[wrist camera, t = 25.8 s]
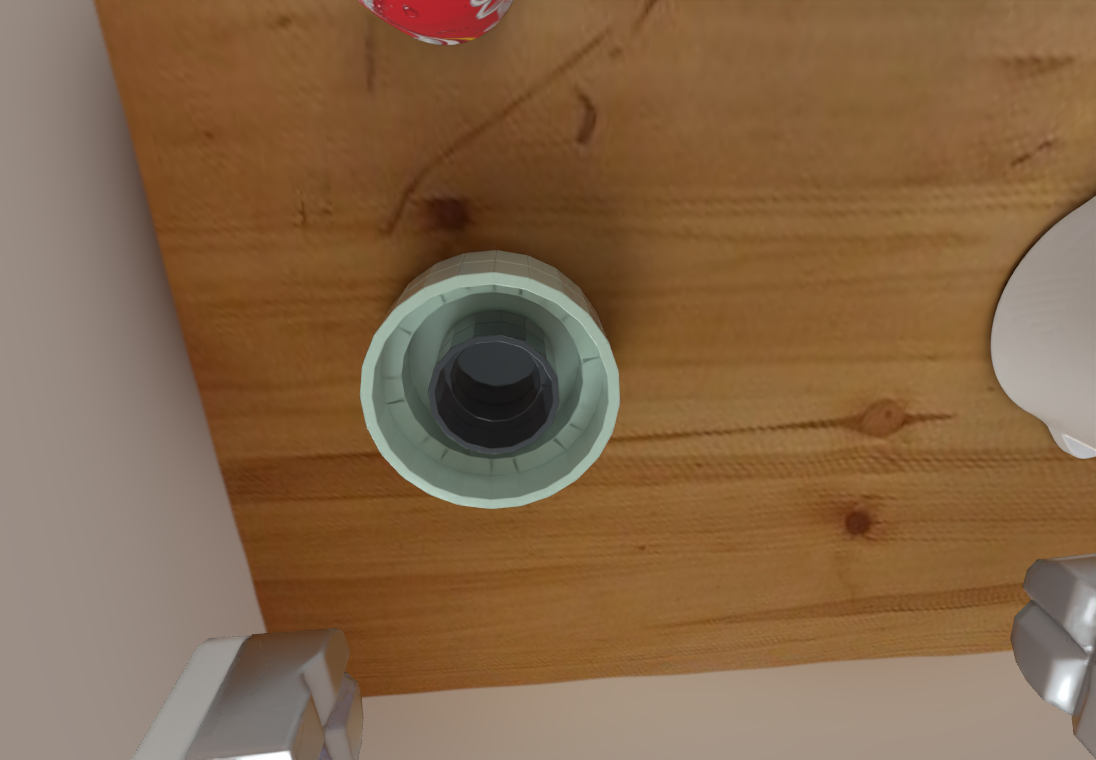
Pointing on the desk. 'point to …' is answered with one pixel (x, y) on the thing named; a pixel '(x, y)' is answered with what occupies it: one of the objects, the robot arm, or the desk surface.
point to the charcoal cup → (494, 383)
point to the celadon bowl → (409, 359)
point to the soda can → (440, 18)
